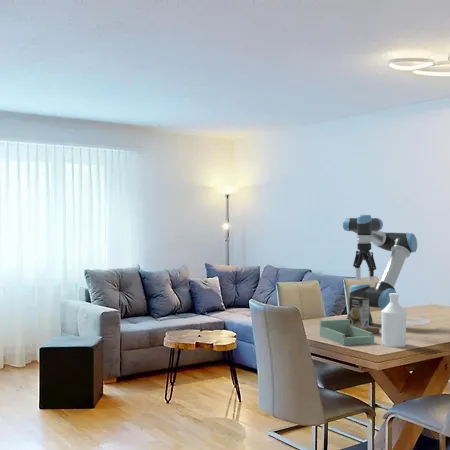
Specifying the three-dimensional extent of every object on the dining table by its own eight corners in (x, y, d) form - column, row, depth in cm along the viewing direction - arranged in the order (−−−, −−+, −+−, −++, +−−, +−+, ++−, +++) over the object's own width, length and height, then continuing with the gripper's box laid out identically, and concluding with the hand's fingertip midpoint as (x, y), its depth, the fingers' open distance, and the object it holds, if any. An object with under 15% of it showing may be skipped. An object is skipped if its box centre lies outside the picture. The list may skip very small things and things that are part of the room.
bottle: (395, 348, 283) (396, 295, 283) (375, 343, 293) (376, 293, 292) (411, 345, 290) (411, 294, 290) (391, 341, 299) (392, 291, 299)
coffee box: (348, 326, 326) (348, 297, 326) (355, 325, 330) (356, 296, 330) (361, 328, 319) (362, 298, 319) (369, 327, 323) (369, 297, 323)
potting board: (338, 329, 330) (338, 325, 330) (363, 328, 335) (363, 323, 335) (353, 334, 315) (353, 330, 315) (379, 333, 320) (379, 328, 320)
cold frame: (319, 335, 312) (319, 320, 312) (348, 334, 317) (348, 319, 317) (343, 345, 288) (343, 328, 288) (374, 343, 293) (374, 327, 293)
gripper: (347, 241, 338) (347, 278, 339) (370, 244, 314) (370, 284, 315) (358, 241, 340) (358, 278, 341) (382, 243, 317) (382, 283, 317)
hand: (364, 281), depth 328 cm, fingers open, 13 cm apart
